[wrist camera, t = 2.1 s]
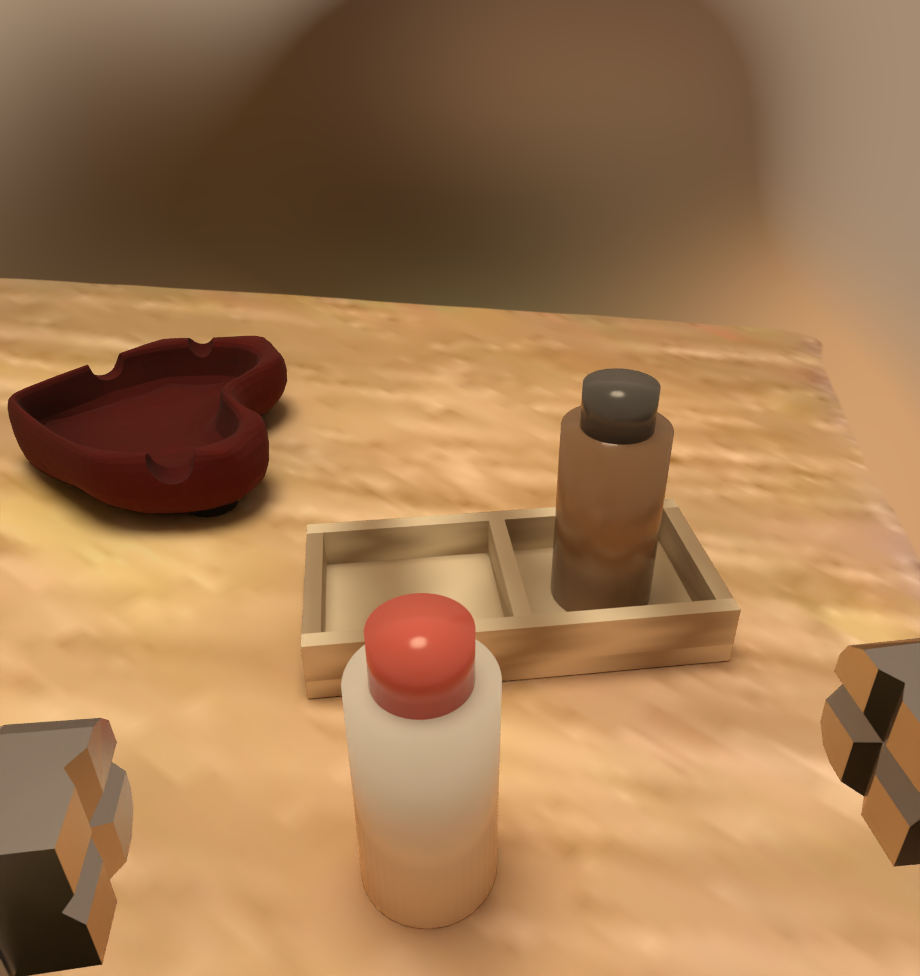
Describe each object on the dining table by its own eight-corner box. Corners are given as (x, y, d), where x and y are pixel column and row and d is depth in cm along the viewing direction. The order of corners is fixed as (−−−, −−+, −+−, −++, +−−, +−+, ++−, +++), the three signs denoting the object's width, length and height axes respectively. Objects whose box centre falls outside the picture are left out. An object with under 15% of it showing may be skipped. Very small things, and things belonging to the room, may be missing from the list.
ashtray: (69, 402, 62) (51, 337, 60) (296, 394, 63) (288, 330, 61) (-31, 547, 47) (-61, 469, 45) (268, 534, 48) (257, 457, 46)
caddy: (307, 698, 37) (300, 646, 36) (312, 572, 45) (307, 524, 43) (729, 660, 39) (740, 609, 37) (666, 545, 47) (673, 498, 45)
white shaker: (362, 936, 28) (335, 697, 22) (359, 813, 32) (335, 582, 26) (506, 919, 29) (517, 680, 23) (485, 799, 33) (489, 570, 27)
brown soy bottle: (562, 626, 40) (579, 413, 34) (541, 563, 44) (553, 364, 38) (663, 618, 40) (696, 406, 34) (633, 556, 44) (658, 358, 38)
